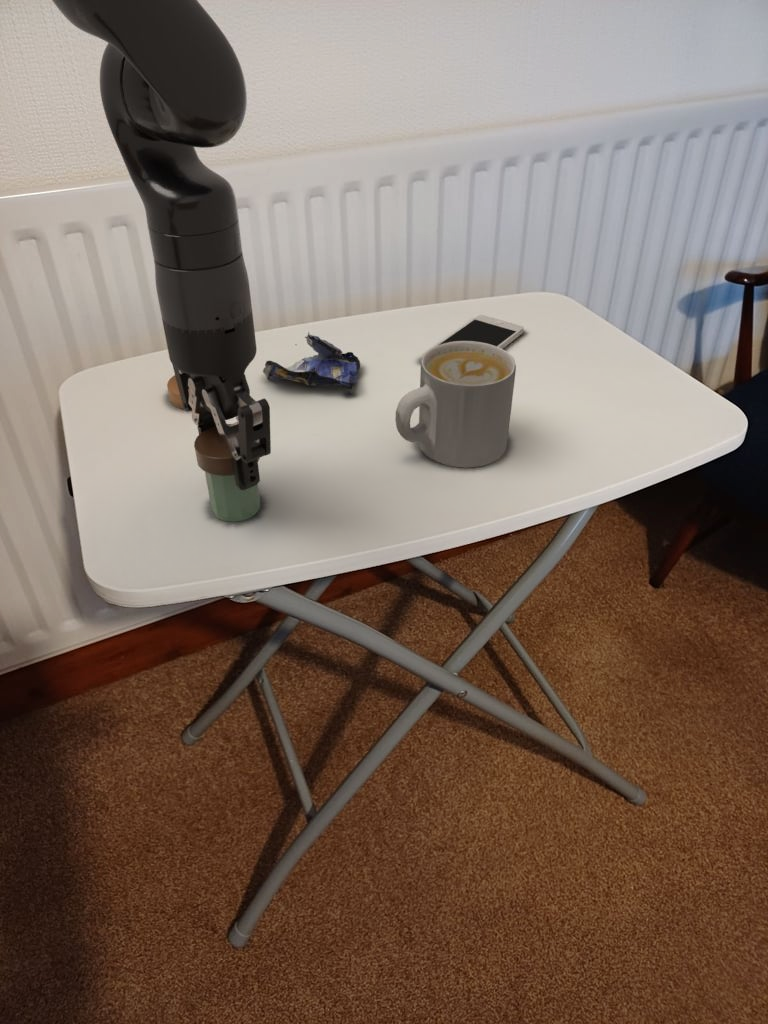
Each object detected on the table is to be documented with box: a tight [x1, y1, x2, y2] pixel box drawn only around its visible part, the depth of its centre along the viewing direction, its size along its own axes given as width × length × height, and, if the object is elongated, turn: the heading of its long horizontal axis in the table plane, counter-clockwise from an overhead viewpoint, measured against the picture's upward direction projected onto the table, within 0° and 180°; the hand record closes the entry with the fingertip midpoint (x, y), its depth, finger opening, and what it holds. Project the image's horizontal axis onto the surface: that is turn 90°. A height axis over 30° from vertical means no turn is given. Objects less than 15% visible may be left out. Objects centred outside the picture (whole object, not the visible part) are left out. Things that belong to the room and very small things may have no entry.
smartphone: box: [422, 314, 525, 356], centre depth 106 cm, size 7×16×1 cm, turn 145°
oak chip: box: [166, 374, 190, 410], centre depth 96 cm, size 7×7×2 cm
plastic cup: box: [204, 471, 261, 523], centre depth 77 cm, size 5×5×6 cm
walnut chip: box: [193, 423, 261, 476], centre depth 75 cm, size 6×6×2 cm
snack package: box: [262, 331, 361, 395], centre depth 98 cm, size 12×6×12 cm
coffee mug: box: [395, 341, 517, 468], centre depth 85 cm, size 13×10×10 cm
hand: (231, 469), depth 76 cm, fingers closed on walnut chip, 6 cm apart
